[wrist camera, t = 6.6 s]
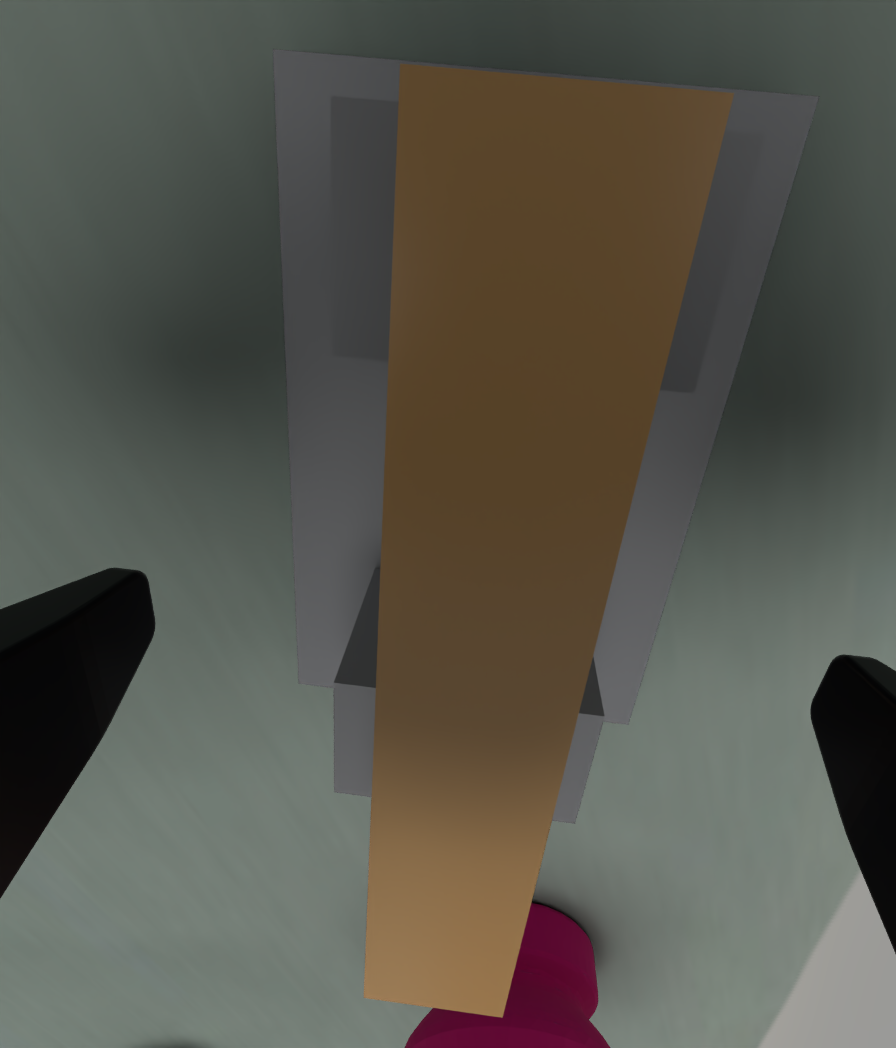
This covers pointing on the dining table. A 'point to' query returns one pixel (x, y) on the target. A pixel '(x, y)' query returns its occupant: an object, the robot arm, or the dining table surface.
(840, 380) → the dining table surface
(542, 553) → the tan wooden bar
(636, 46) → the dining table surface
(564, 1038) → the pepper mill
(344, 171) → the display stand
